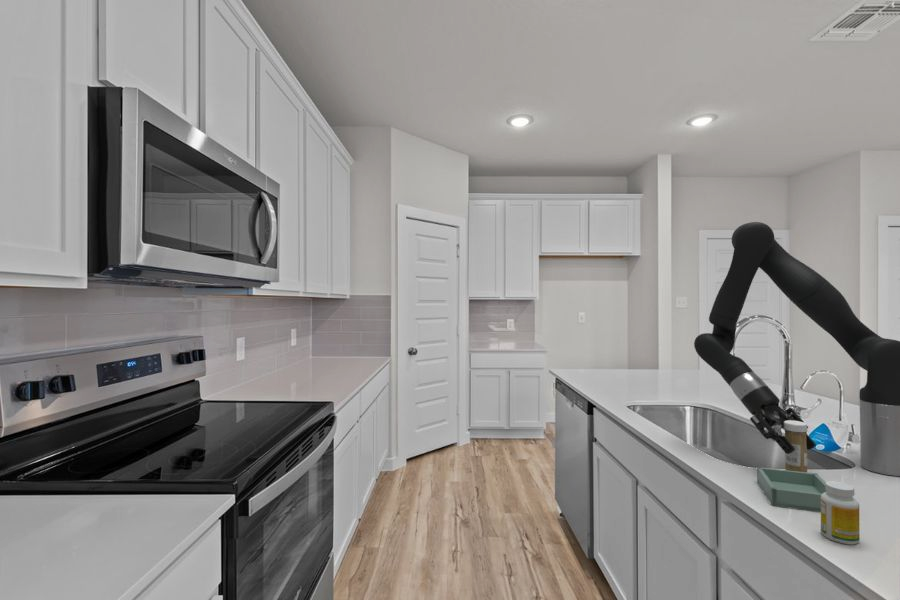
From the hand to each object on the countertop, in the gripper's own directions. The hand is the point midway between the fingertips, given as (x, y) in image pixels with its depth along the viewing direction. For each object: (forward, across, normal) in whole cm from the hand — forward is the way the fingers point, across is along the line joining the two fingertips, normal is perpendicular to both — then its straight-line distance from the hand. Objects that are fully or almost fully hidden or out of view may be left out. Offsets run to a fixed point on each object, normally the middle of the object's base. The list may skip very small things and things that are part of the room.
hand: (802, 449), depth 109 cm
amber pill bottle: (+4, 0, +6) cm, 7 cm away
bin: (+9, -12, +1) cm, 15 cm away
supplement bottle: (+19, -23, -9) cm, 31 cm away
